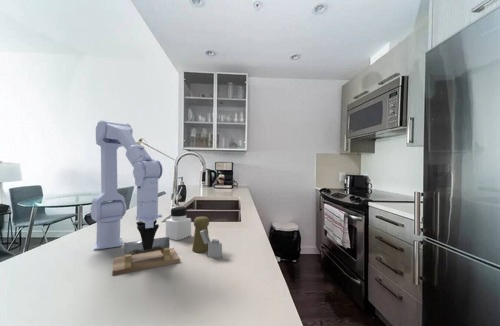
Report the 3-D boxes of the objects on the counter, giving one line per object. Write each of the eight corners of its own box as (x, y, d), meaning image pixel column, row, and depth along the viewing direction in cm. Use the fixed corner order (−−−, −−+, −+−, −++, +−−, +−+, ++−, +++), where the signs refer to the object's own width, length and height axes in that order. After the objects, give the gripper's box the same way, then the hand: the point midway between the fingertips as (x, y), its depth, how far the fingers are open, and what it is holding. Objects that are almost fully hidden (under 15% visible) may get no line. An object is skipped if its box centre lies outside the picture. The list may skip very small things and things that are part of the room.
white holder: (222, 256, 70) (222, 230, 70) (219, 258, 69) (219, 232, 69) (202, 253, 72) (202, 228, 73) (199, 255, 71) (199, 230, 71)
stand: (114, 261, 67) (114, 247, 67) (173, 250, 75) (173, 238, 75) (112, 275, 58) (112, 259, 58) (179, 261, 66) (179, 248, 66)
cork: (206, 253, 73) (206, 219, 73) (188, 252, 74) (189, 218, 74) (212, 247, 79) (213, 215, 79) (196, 245, 80) (197, 214, 80)
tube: (124, 253, 65) (124, 241, 65) (167, 246, 71) (167, 235, 71) (124, 258, 62) (124, 245, 62) (169, 250, 68) (169, 238, 68)
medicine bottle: (191, 236, 91) (191, 206, 91) (177, 240, 85) (177, 209, 85) (179, 233, 95) (179, 204, 95) (165, 237, 89) (165, 207, 89)
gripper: (165, 203, 62) (165, 252, 62) (158, 197, 75) (158, 238, 75) (137, 205, 59) (136, 257, 59) (135, 198, 72) (134, 241, 71)
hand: (147, 247), depth 66 cm, fingers closed on tube, 4 cm apart
